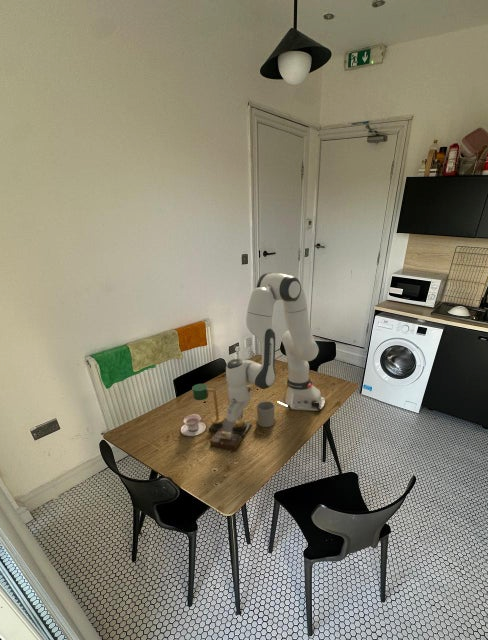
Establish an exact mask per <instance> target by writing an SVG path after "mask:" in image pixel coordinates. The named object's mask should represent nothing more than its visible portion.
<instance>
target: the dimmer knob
mask: <svg viewBox="0 0 488 640" xmlns="http://www.w3.org/2000/svg"><path fill="white" fill-rule="evenodd" d="M220 438H223V439H228V440H231V438H232V436H231V433H230V432H225V431H221V432H220Z"/></svg>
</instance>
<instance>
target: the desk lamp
mask: <svg viewBox="0 0 488 640" xmlns="http://www.w3.org/2000/svg"><path fill="white" fill-rule="evenodd" d="M191 390H192V396H193V399H194V400H196V401H204V400H206V399H208V398H209V392H212V394H213V402H214V410H215V416H213V417H212V418H211V423H212V424H213V423H214V424H220V423H222V422H223V421H224V418H225V417H224V416H222V415H219V407H218V406H219V405H218V399H217V398H218V397H217V390H216V389H213V388H209V387H208V385H207V384H205V383H197V384H194V385H193V386H192V387H191Z"/></svg>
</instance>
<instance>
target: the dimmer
mask: <svg viewBox="0 0 488 640" xmlns="http://www.w3.org/2000/svg"><path fill="white" fill-rule="evenodd" d="M220 432H221V431H217V432H215V434H214V435H213V436H212V438H211V439H210V440H209V444H210V447H214V448H220V449H224V450H229V451H233V452H236V450H237V448H238V447H239V445H240V444H241V443H242V441H243V437H242V435H237V434H232V433H231V436H232V438H231V440H228V439H223V438H220Z"/></svg>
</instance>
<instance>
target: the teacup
mask: <svg viewBox="0 0 488 640" xmlns="http://www.w3.org/2000/svg"><path fill="white" fill-rule="evenodd" d="M183 423H184V424H183V425H182V426H181V428H180V433H181V435H183V436H185V437H196V436H199V435H202V434H203V433H204V432H205V431H206V429H207V426H206V424H205V423H204V422H202V421H201V416H200V414H197V413H193V414H192V413H191V414H188V415H187V416H185V417H184V418H183Z"/></svg>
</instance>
